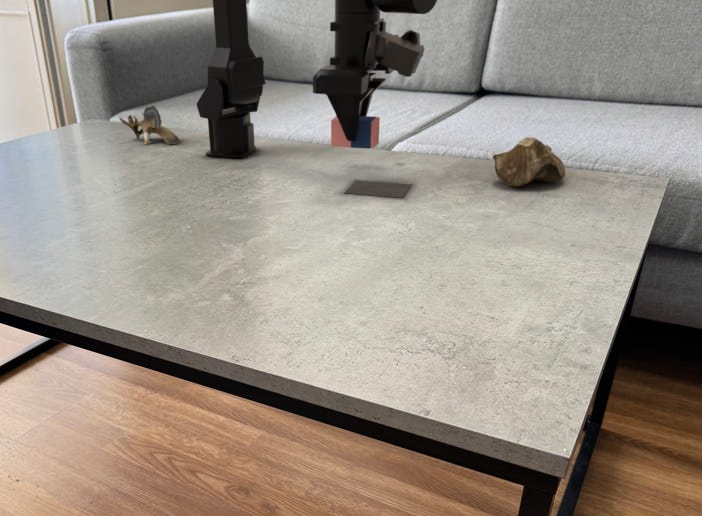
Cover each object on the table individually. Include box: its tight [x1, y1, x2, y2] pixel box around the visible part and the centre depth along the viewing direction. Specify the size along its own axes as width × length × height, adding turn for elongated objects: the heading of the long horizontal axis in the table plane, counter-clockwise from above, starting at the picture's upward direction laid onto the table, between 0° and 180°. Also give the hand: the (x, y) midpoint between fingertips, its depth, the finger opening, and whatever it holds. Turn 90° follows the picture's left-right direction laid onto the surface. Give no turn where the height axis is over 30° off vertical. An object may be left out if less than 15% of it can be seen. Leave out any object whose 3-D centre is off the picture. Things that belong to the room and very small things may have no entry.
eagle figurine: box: [118, 105, 180, 146], centre depth 123 cm, size 8×7×9 cm
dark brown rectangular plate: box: [343, 179, 412, 199], centre depth 96 cm, size 8×6×1 cm
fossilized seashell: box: [492, 136, 566, 187], centre depth 95 cm, size 8×7×10 cm
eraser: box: [330, 115, 381, 149], centre depth 96 cm, size 6×3×4 cm, turn 69°
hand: (354, 137), depth 96 cm, fingers closed on eraser, 3 cm apart
